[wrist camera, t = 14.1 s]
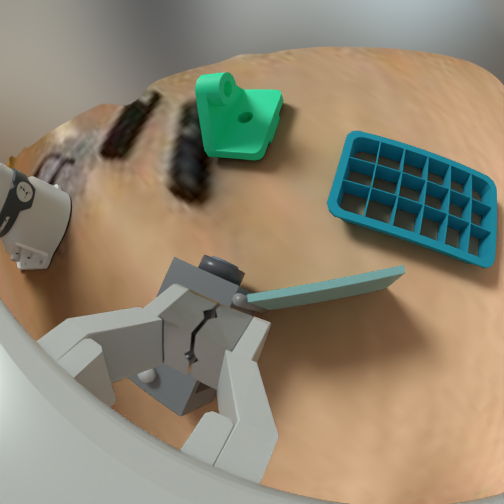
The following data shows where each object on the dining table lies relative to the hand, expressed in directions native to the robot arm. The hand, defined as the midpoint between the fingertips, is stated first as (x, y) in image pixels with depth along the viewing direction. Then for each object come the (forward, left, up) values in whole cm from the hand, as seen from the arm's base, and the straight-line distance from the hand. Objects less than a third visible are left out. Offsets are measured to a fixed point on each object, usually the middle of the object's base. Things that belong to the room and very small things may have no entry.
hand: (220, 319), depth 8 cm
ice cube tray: (+17, +10, -21) cm, 29 cm away
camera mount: (0, +27, -21) cm, 34 cm away
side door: (+3, +2, -20) cm, 21 cm away
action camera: (-9, +1, -20) cm, 22 cm away
